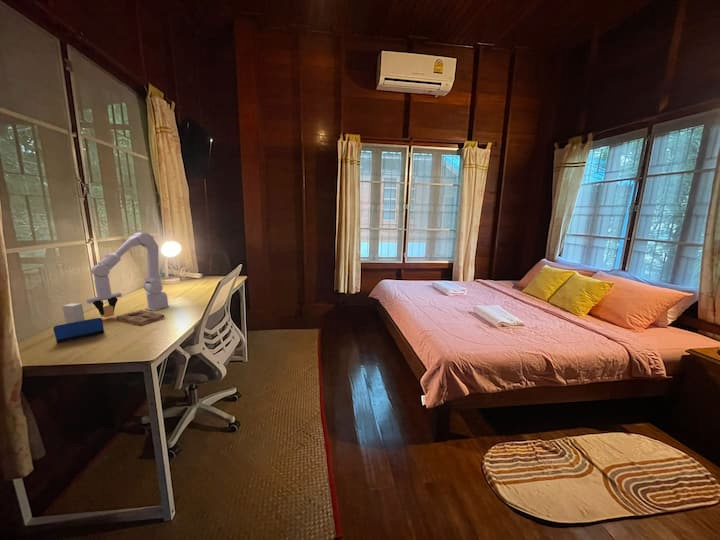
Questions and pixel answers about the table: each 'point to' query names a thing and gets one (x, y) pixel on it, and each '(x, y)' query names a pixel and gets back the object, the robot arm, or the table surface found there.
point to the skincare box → (73, 313)
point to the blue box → (78, 330)
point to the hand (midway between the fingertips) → (107, 313)
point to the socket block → (140, 317)
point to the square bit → (108, 311)
